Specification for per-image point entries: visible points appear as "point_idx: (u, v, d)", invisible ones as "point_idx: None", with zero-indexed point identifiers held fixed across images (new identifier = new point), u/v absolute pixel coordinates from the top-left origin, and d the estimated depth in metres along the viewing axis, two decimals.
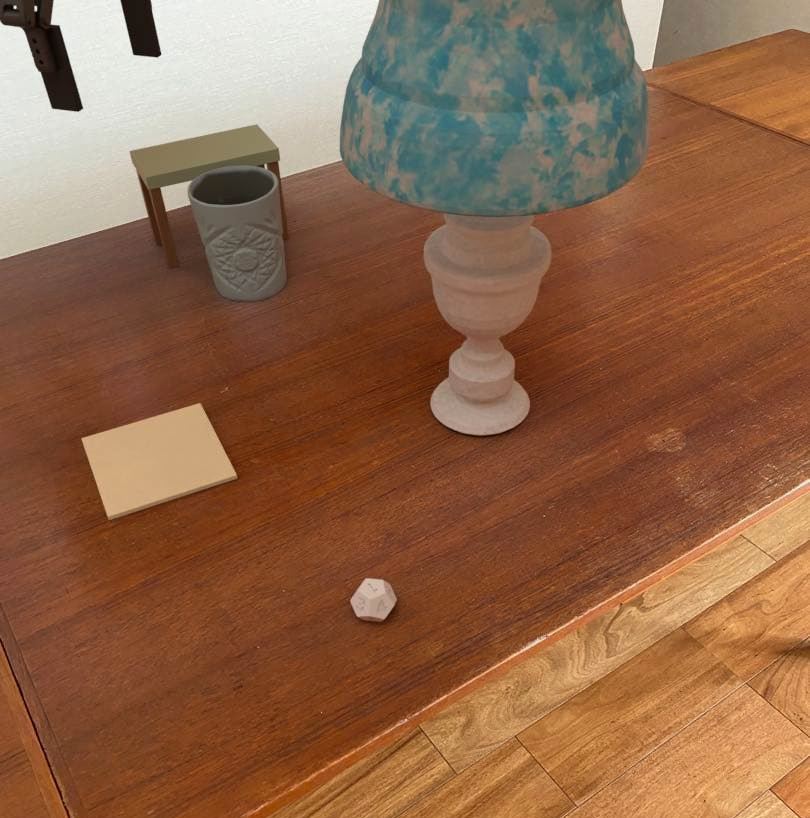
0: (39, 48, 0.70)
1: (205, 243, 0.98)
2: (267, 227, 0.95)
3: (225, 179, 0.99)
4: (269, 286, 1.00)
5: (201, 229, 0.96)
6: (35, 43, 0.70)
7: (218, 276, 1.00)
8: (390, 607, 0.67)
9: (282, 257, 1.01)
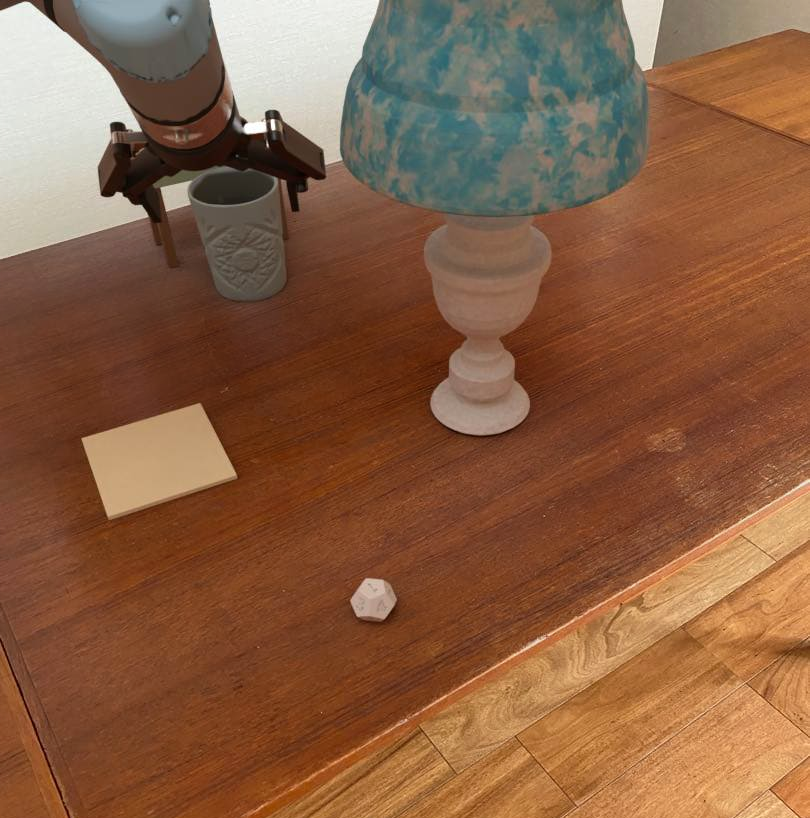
0: None
1: (205, 243, 0.98)
2: (267, 227, 0.95)
3: (225, 179, 0.99)
4: (269, 286, 1.00)
5: (201, 229, 0.96)
6: None
7: (218, 276, 1.00)
8: (390, 607, 0.67)
9: (282, 257, 1.01)
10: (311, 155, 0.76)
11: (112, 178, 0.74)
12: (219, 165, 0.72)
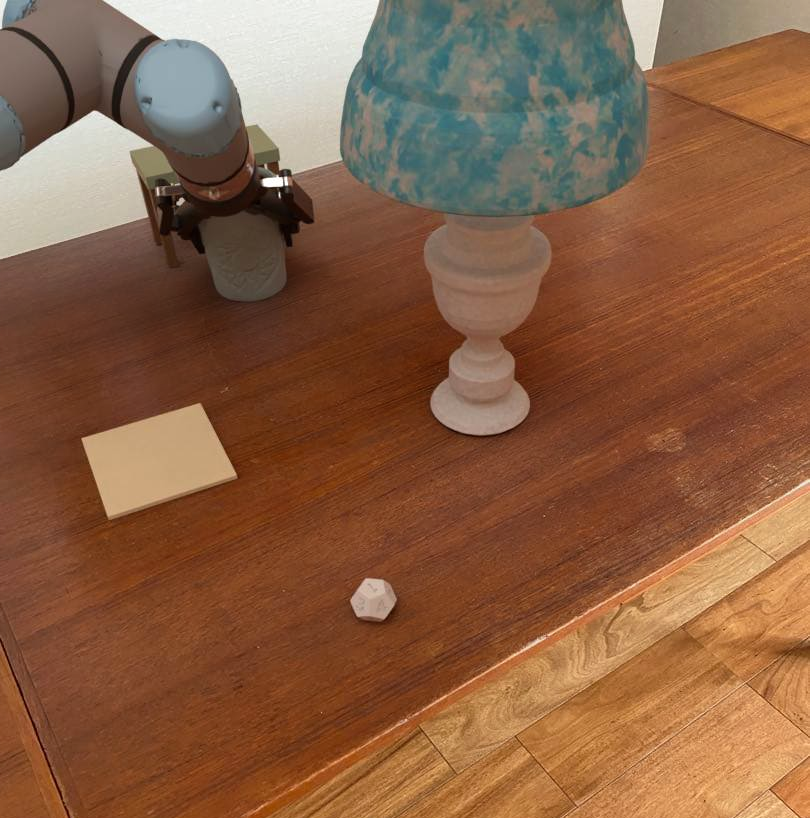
0: None
1: (205, 243, 0.98)
2: (267, 227, 0.95)
3: None
4: (269, 286, 1.00)
5: (201, 229, 0.96)
6: None
7: (218, 276, 1.00)
8: (390, 607, 0.67)
9: (282, 257, 1.01)
10: (306, 204, 0.93)
11: (163, 221, 0.91)
12: None
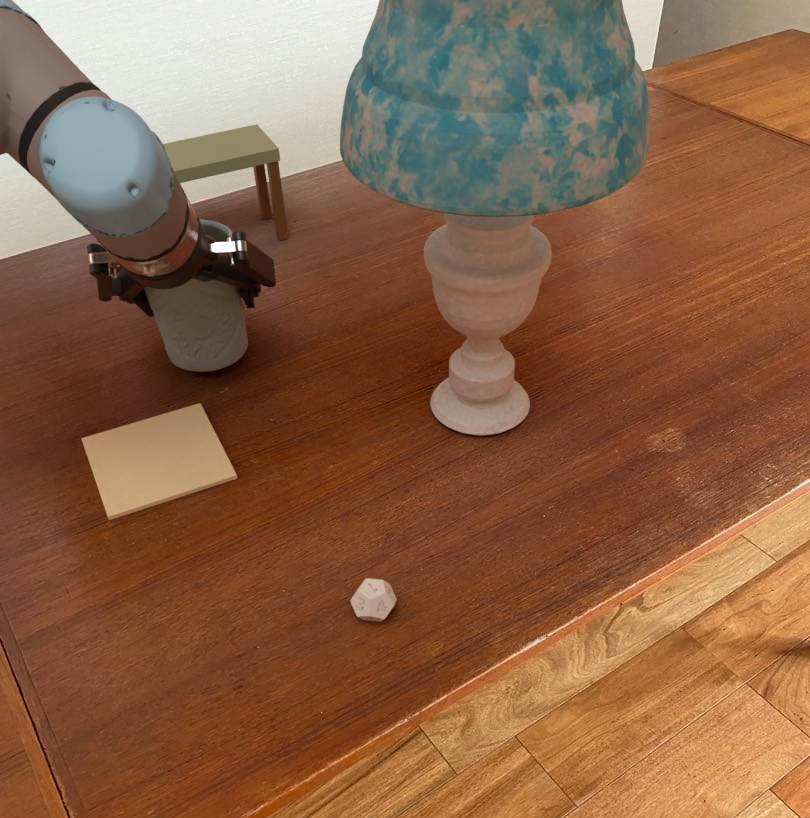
0: None
1: (153, 308, 0.86)
2: (222, 291, 0.84)
3: None
4: (227, 354, 0.89)
5: (147, 293, 0.84)
6: None
7: (169, 344, 0.88)
8: (390, 607, 0.67)
9: (241, 321, 0.89)
10: (265, 267, 0.82)
11: (101, 289, 0.80)
12: None
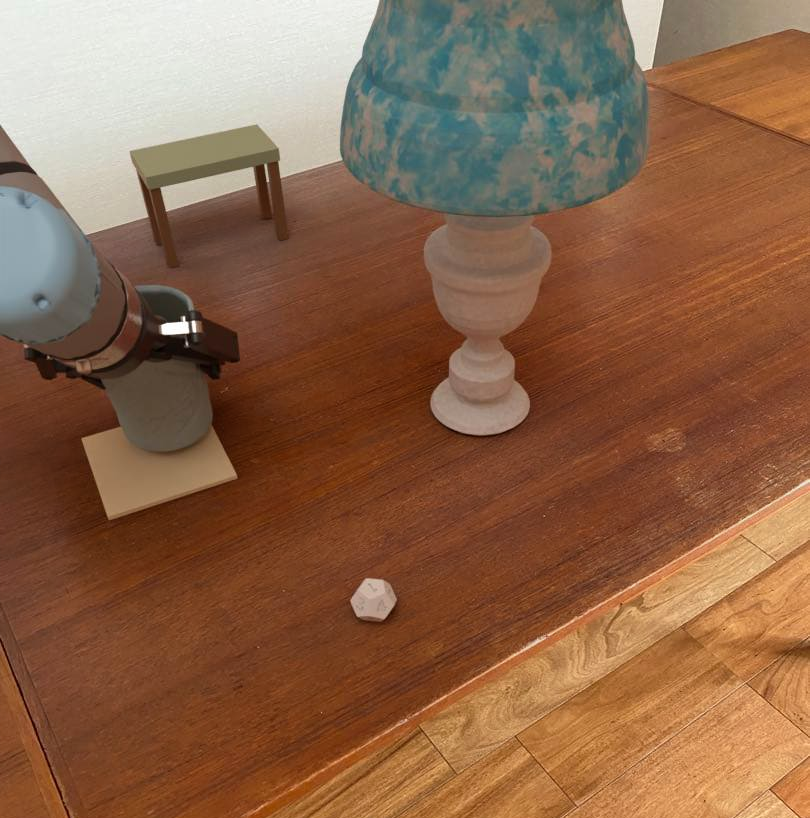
0: None
1: (104, 384, 0.77)
2: (180, 368, 0.75)
3: None
4: (188, 433, 0.80)
5: None
6: None
7: (123, 422, 0.79)
8: (390, 607, 0.67)
9: (204, 396, 0.81)
10: (227, 343, 0.73)
11: (42, 370, 0.71)
12: None
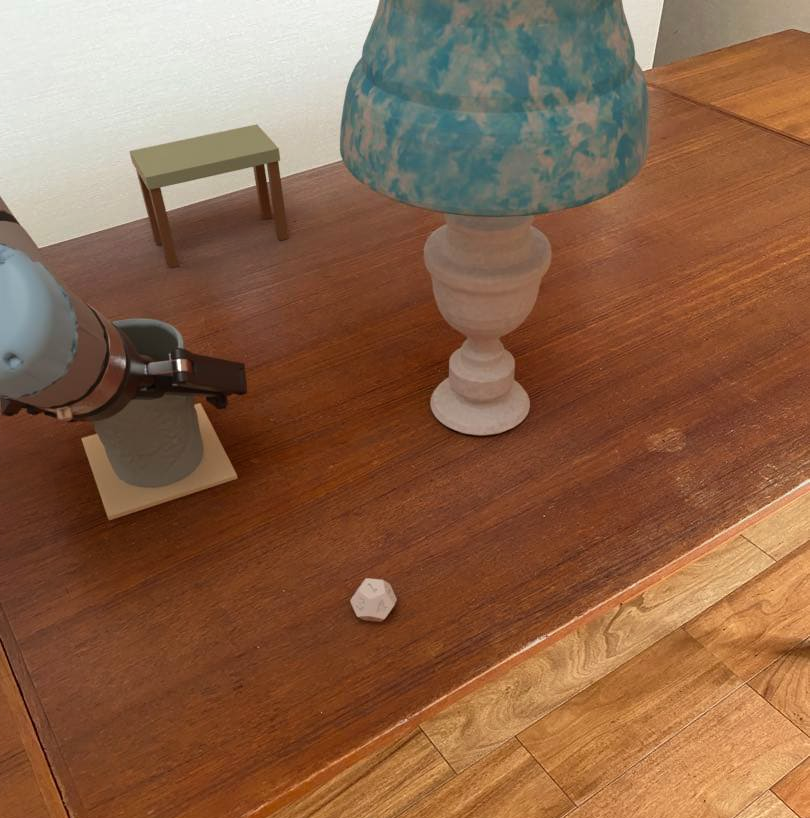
0: None
1: None
2: (169, 405, 0.74)
3: None
4: (178, 469, 0.79)
5: None
6: None
7: (111, 458, 0.78)
8: (390, 607, 0.67)
9: (194, 432, 0.79)
10: (228, 376, 0.70)
11: (10, 407, 0.68)
12: None
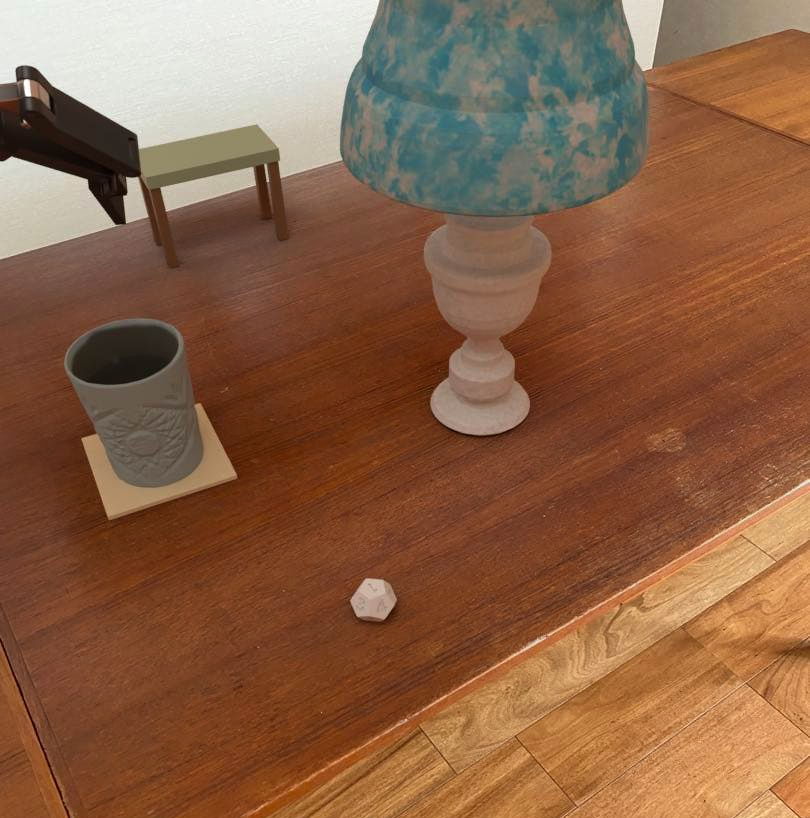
0: None
1: (92, 420, 0.76)
2: (169, 405, 0.74)
3: (119, 335, 0.77)
4: (178, 469, 0.79)
5: (84, 406, 0.74)
6: None
7: (111, 458, 0.78)
8: (390, 607, 0.67)
9: (194, 432, 0.79)
10: (111, 140, 0.52)
11: None
12: None
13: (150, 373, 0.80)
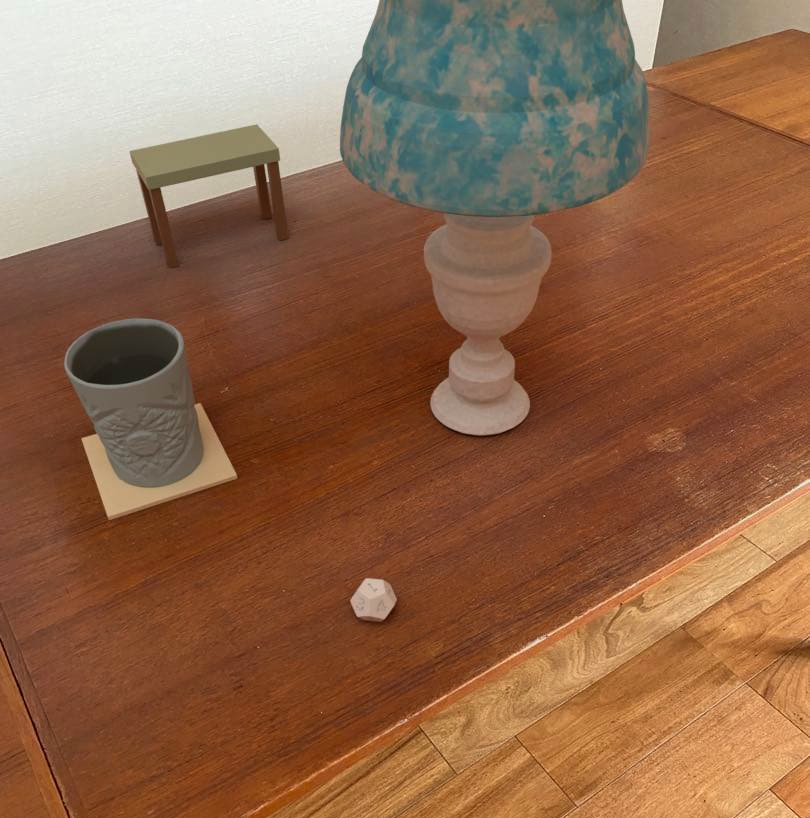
0: None
1: (92, 420, 0.76)
2: (169, 405, 0.74)
3: (119, 335, 0.77)
4: (178, 469, 0.79)
5: (84, 406, 0.74)
6: None
7: (111, 458, 0.78)
8: (390, 607, 0.67)
9: (194, 432, 0.79)
10: None
11: None
12: None
13: (150, 373, 0.80)
